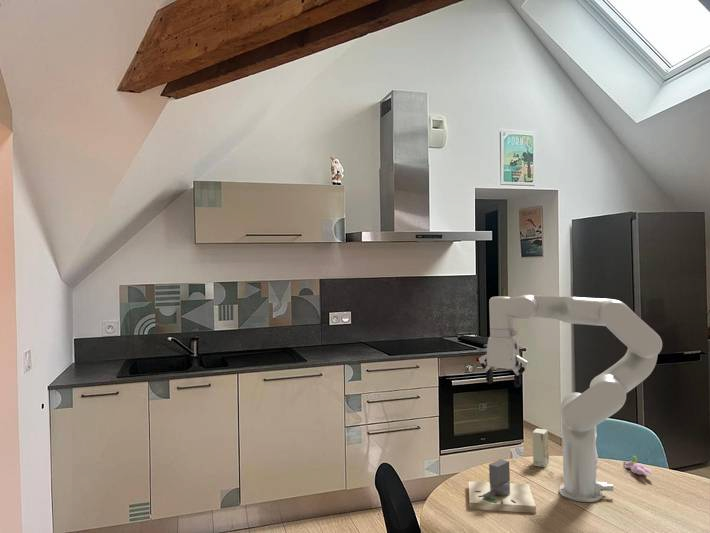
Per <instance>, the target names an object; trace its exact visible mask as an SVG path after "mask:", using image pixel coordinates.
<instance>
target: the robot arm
mask: <svg viewBox="0 0 710 533" xmlns="http://www.w3.org/2000/svg"><path fill="white" fill-rule="evenodd" d="M488 303H489V304H488V305H489V306H488V307H489V308H488V309H489V333H490V334H489V337H488V340H487V346H486V354H484V355H482V356H480V357H478V361H479V364H480V367H481V368H482V369H483V371H484V372H485V379H486V384H488V385H491V384H493V383H494V371H493V368H496V369H497V368H499V369H506V370H511V371H513V372H514V375H513V385H514V388H519V387H521V385H522V374H523V373H524V372H526V370H527V368H528V366H529V364H530V363H529V361H528V360H526V359H524V358H523V357H521V355H520V349H519V344H518V340H517V338H516V337H515V336H517V335H518V330H515V328H514V319H519V320H528V319H531V318H542V319H543V318H544V319H552V320H558V321H559V322H560V321H561V322H563V323H565V324H566V323H567V324H573V325H589V326H601V327H606V329H608V330H609V332H611V333H612V334H613V335H614V336H615V337H616V338H617V339H618V340H619V341H620V342H621V343H622V344H624V345H625V346H626V347H627V350H626V352H625V354H624V356H622V357H621V358H620V359H618V361H617V362H616V363H614V364H613V365H612V366H610V367H608V368H607V369H606V370H604V371H603V372H601V373H600V374H598V375H596V376H595V377H593V379H591V381H590V384H589V388H587V389H586V390H585V391H583V392H570V393H568V394H566V395H565V397H563V398H562V401H561V404H560V414H561V415H560V416H561V437H562V438H561V439H562V440H561V441H562V466H563V483H562V484H561V485H559V487H558V493H559V494H560V496H562V497H564V498H566V499H569V500H572V501H575V502H579V503H580V502H581V503H594V502H598V501H600V500H602V498H603V491H605V492H606V491H607V492H614V485H613V484H607V482H606V481H599V480H598V479H597V464H596V457H595V430H594V427H595V426H596V427H597V426H598V425H600V424H601V423H603V422H604V421H605V420H607V419H608V418H610V417H611V416H613V415H614V414H616V413H617V412H619V411H620V410H621V409H622V408H623V406H624V405H625V403H626V400H627V394H628V393H629V392H630V391H632V390H634V389H635V388H636V387H637V386H638V385H639V384H641V383H642V382H644V381H645V380H646V379H647V378H648V377H649V376H650V375H651V374H652V372H653V371H654V369H655V367H656V364H657V361H658V355H659V354H660V353H661V351H662V349H663V340H662V338H661V336H660V335H659V334H658V333H657V332H656V331H655V330H654V329H653V328H652V327H650V326H649V325H648V324H647V323H646V322H645V321H644V320H643V319H641V317H639V315H637V314H636V313H635V312H634V311H633V310H632V309H631V308H630V307H629V306H628V305H627V304H626V303H624V302H623V301H621V300H619V299H613V298H600V297H597V298H596V297H584V296H583V297H582V296H581V297H580V296H552V295H551V296H550V295H537V294H536V295H534V294H522V295H519V296H514V297H510V296H505V295H504V296H500V295H499V296H492V297H490V299H489V302H488ZM485 360H486V361H485ZM521 364H522V365H521ZM520 366H521V367H520Z"/></svg>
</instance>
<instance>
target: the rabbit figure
mask: <svg viewBox="0 0 710 533" xmlns="http://www.w3.org/2000/svg"><path fill="white" fill-rule="evenodd" d="M632 457H633V458H632V459H631V460H630V461H627V462H626V461H623V464H622V465H623V467H624V468H626V469H627V470H630V471H631V472H632V473H633V474H636V475H637V474H638V475H637V476H641V475H648V474H649V475H652V474H653V471H652V469H651V468H649V467H646V466H645V465H644V464H642V463H638V458H637V456H636V455H633V456H632Z"/></svg>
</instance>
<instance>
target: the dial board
mask: <svg viewBox="0 0 710 533" xmlns="http://www.w3.org/2000/svg"><path fill="white" fill-rule="evenodd" d="M488 492H490V481H473V480H471V481H468V496H469V498H468V499H469V501H468V502H469V510H477V511H478V510H482V511H483V510H484V511H496V512H497V511H498V512H512V513H513V512H514V513H515V512H516V513H531V514H532V513H533V514H536V513H537V505H536V502H535V500H534V497H533V494H532V493H533V492H532V491H531V488H530V484H528V483H512V482H510V494H509V495H507V496H497V495H493V496H491V497H489V498H487V499H486V498H483V495H484V494H486V493H488Z"/></svg>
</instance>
